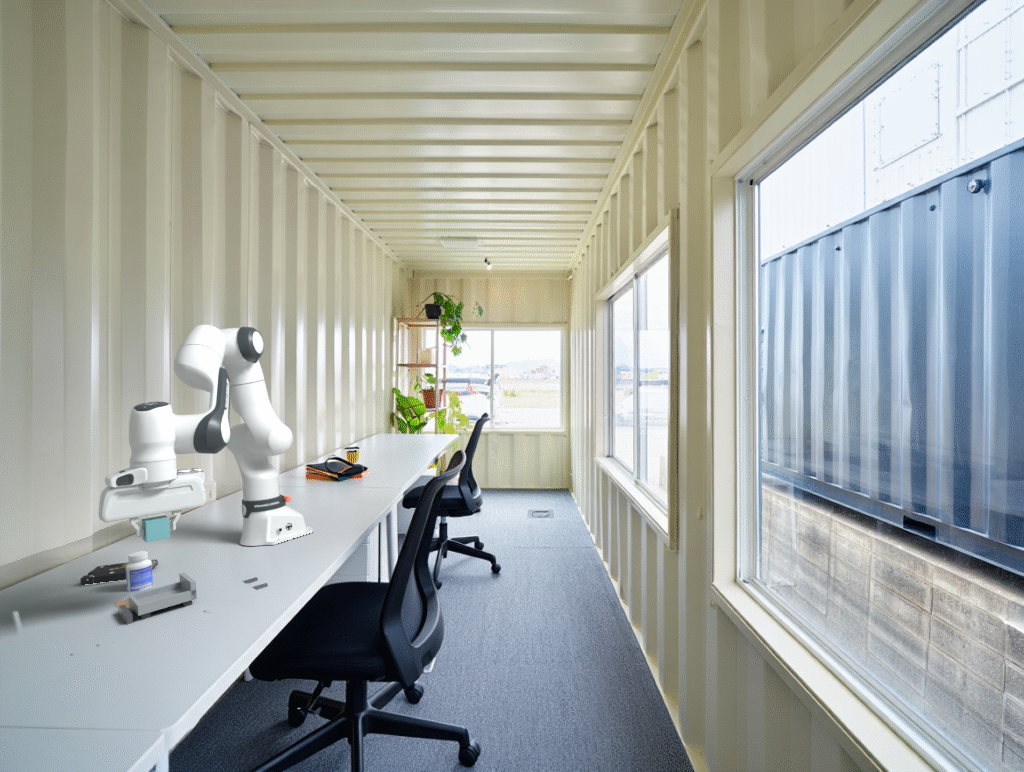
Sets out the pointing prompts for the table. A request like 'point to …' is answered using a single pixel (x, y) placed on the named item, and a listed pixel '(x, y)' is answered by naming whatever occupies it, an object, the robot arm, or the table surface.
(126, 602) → the pad
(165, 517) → the block
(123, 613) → the rails
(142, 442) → the robot arm
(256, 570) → the table surface
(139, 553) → the pill bottle
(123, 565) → the disk drive
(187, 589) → the grey sliding tray
